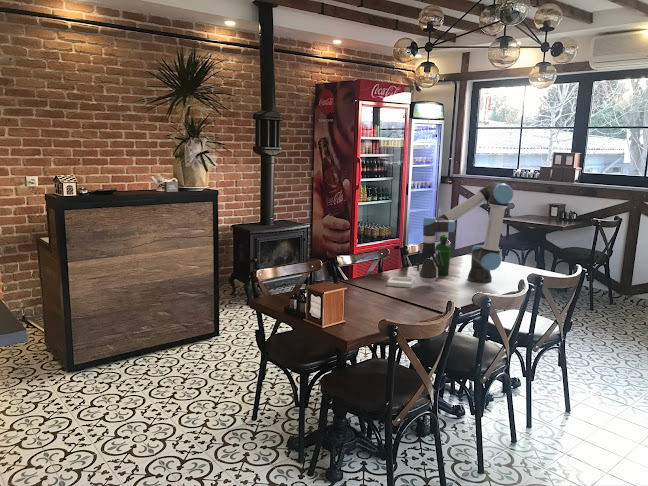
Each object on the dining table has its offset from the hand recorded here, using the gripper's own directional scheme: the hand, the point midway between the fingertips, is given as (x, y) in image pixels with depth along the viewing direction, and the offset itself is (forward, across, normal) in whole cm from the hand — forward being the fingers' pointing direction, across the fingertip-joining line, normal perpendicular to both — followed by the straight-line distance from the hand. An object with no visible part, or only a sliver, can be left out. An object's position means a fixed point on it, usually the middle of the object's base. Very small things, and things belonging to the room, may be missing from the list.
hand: (428, 276), depth 329 cm
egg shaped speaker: (+4, 0, 0) cm, 4 cm away
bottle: (+6, -6, -34) cm, 35 cm away
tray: (+6, +17, 0) cm, 18 cm away
